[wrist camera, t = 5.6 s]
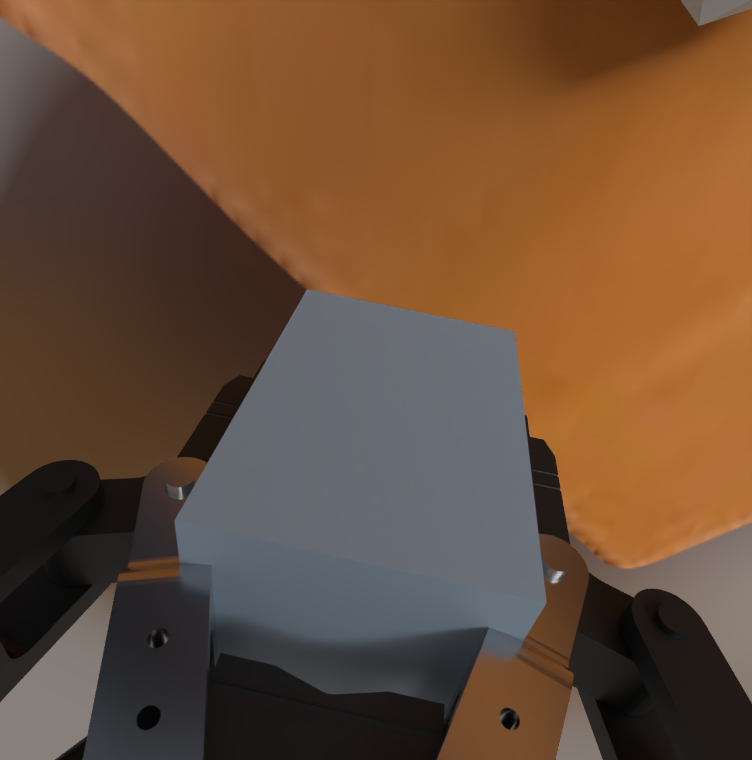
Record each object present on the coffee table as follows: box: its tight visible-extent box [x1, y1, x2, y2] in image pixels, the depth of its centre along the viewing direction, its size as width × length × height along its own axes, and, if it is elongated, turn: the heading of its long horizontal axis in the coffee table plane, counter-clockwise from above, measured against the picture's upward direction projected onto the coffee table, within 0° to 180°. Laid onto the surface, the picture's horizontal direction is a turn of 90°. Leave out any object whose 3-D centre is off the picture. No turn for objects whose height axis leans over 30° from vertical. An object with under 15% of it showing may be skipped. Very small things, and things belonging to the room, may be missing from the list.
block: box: [174, 289, 547, 713], centre depth 11 cm, size 5×5×7 cm
